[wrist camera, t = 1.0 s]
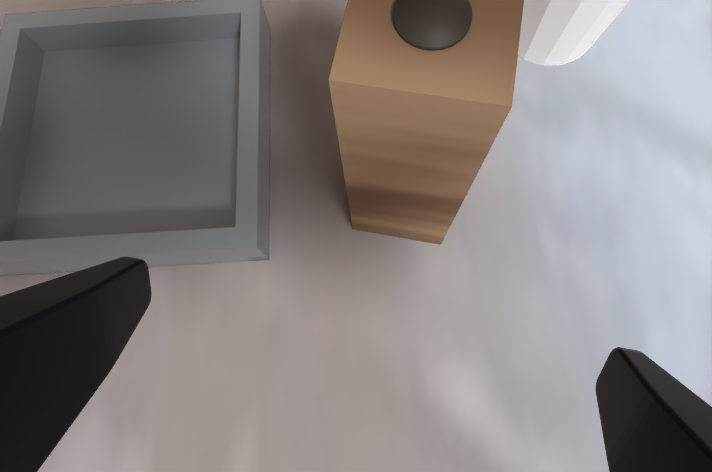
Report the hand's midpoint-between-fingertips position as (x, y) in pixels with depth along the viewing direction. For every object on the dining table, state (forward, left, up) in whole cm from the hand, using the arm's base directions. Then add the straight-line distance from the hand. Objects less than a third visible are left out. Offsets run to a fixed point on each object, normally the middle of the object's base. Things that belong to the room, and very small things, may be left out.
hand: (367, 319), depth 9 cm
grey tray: (+12, +12, -13) cm, 21 cm away
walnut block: (+8, -2, -13) cm, 16 cm away
